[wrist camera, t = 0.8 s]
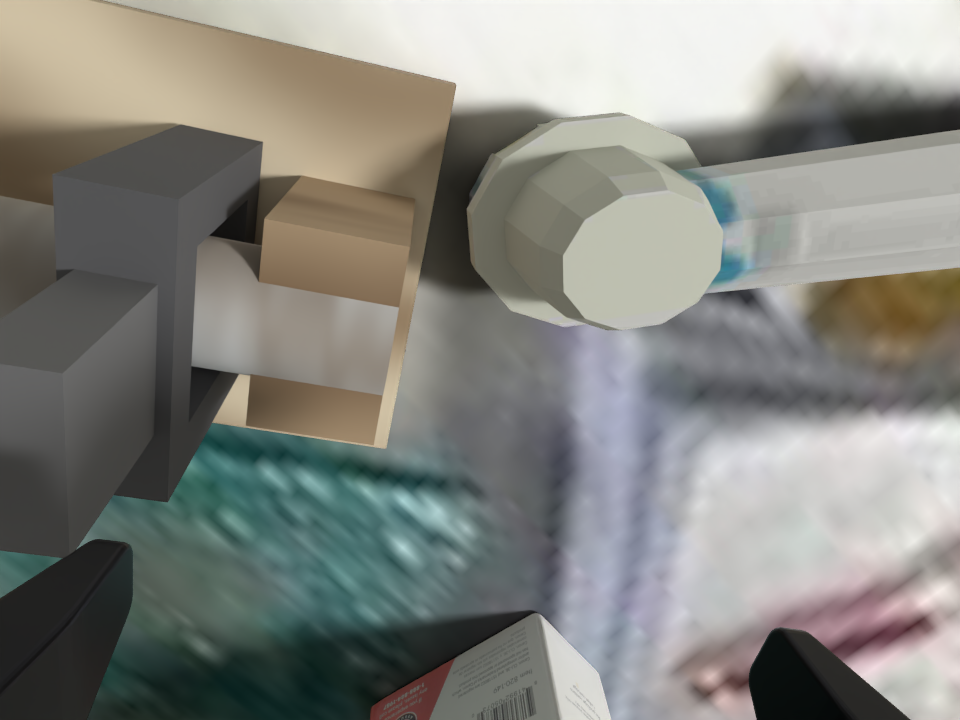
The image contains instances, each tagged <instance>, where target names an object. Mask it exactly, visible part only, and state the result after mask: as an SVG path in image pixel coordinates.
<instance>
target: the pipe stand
mask: <svg viewBox="0 0 960 720" xmlns="http://www.w3.org/2000/svg"><path fill="white" fill-rule="evenodd" d="M455 90H456V84H455V83H453V82H448V81H444V80H440V79H436V78H431V77H427V76H423V75H419V74H414V73H410V72H406V71H401V70H397V69H393V68H389V67H384V66H380V65H376V64H372V63H367V62H363V61H359V60H354V59H350V58H346V57H342V56H337V55H333V54H329V53H325V52H320V51H316V50H312V49H308V48H303V47H299V46H295V45H290V44H286V43H282V42H278V41H273V40H269V39H265V38H261V37H256V36H252V35H248V34H243V33H239V32H235V31H231V30H226V29H222V28H218V27H214V26H209V25H205V24H201V23H197V22H192V21H188V20H184V19H179V18H175V17H171V16H167V15H162V14H158V13H154V12H150V11H145V10H141V9H137V8H132V7H128V6H124V5H120V4H115V3H111V2H107V1H103V0H0V319H2V318H3V317H5V316H6V315H8V314H9V313H11V312H12V311H14V310H15V309H16V308H18V307H19V306H21V305H22V304H24V303H25V302H27V301H28V300H30V299H31V298H33V297H34V296H36V295H37V294H39V293H40V292H42V291H43V290H44V289H46V288H47V287H49V286H50V285H52V284H53V283H55V282H56V281H57V278H56V253H55V228H54V204H53V179H52V174H55V173H57V172H60V171H63V170H65V169H68V168H70V167H73V166H75V165H78V164H80V163H83V162H86V161H88V160H91V159H93V158H96V157H98V156H101V155H104V154H106V153H109V152H111V151H114V150H116V149H119V148H121V147H124V146H127V145H129V144H132V143H134V142H137V141H139V140H142V139H144V138H147V137H150V136H152V135H155V134H157V133H160V132H162V131H165V130H167V129H170V128H173V127H175V126H178V125H180V124H182V125H186V126H191V127H196V128H200V129H205V130H210V131H215V132H219V133H224V134H229V135H233V136H238V137H243V138H248V139H252V140H257V141H262V142H263V150H262V161H261V173H260V185H259V196H258V208H257V220H256V231H255V243H254V244H250V243H245V242H240V241H235V240H229V239H224V238H219V237H214V236H208V237H207V238H206V239H205V240H204V241H203V242H202V243H201V244H200V245H198V246H197V263H196V283H195V303H194V323H193V343H192V363H191V366H194V367H200V368H206V369H212V370H218V371H224V372H230V373H237V374H239V375H238V377H237V379H236V381H235V383H234V384H233V386H232V388H231V390H230V391H229V393H228V395H227V397H226V399H225V400H224V402H223V404H222V406H221V408H220V409H219V411H218V413H217V415H216V417H215V418H214V420H213V422H212V423H219V424H226V425H232V426H239V427H245V428H252V429H259V430H265V431H272V432H278V433H285V434H291V435H298V436H305V437H311V438H318V439H324V440H331V441H337V442H344V443H351V444H357V445H364V446H370V447H377V448H384V449H386V446H387V441H388V436H389V431H390V426H391V421H392V415H393V410H394V405H395V400H396V395H397V389H398V384H399V379H400V374H401V369H402V364H403V358H404V353H405V348H406V343H407V338H408V333H409V327H410V322H411V317H412V312H413V307H414V302H415V296H416V291H417V286H418V281H419V276H420V271H421V265H422V260H423V255H424V250H425V245H426V240H427V234H428V229H429V224H430V219H431V214H432V209H433V203H434V198H435V193H436V188H437V183H438V178H439V172H440V167H441V162H442V157H443V152H444V147H445V141H446V136H447V131H448V126H449V121H450V116H451V110H452V105H453V100H454V95H455Z"/></svg>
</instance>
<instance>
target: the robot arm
mask: <svg viewBox="0 0 960 720" xmlns="http://www.w3.org/2000/svg"><path fill="white" fill-rule="evenodd" d="M132 597H133V551H132V548H131V546H130V545H129V544H127V543H125V542H118V541H110V540H102V539H95V540H92V541H90V542H88V543H86V544H85V545H83V546H81V547H80V548H78V549H77V550H75V551H74V552H72V553H70V554H69V555H67V556H66V557H64V558H63V559H61V560H60V561H58V562H56V563H55V564H53V565H52V566H50V567H49V568H47V569H45V570H44V571H42V572H41V573H39V574H38V575H36V576H35V577H33V578H31V579H30V580H28V581H27V582H25V583H24V584H22V585H20V586H19V587H17V588H16V589H14V590H13V591H11V592H10V593H8V594H6V595H5V596H3V597H2V598H0V720H87V717H88V715H89V712H90V710H91V707H92V705H93V702H94V700H95V697H96V695H97V692H98V690H99V687H100V685H101V682H102V680H103V677H104V675H105V672H106V669H107V667H108V664H109V662H110V659H111V657H112V654H113V652H114V649H115V647H116V644H117V642H118V639H119V637H120V634H121V632H122V629H123V627H124V624H125V622H126V619H127V616H128V614H129V611H130V607H131V603H132ZM749 688H750V693H751V697H752V701H753V705H754V710H755V714H756V718H757V720H910V719H909V718H908V717H907V716H906V715H904V714H903V713H902V712H901V711H900V710H899V709H897V708H896V707H895V706H894V705H893V704H891V703H890V702H889V701H888V700H887V699H886V698H884V697H883V696H882V695H881V694H880V693H879V692H877V691H876V690H875V689H874V688H873V687H872V686H870V685H869V684H868V683H867V682H866V681H865V680H863V679H862V678H861V677H860V676H859V675H858V674H856V673H855V672H854V671H853V670H852V669H851V668H849V667H848V666H847V665H846V664H845V663H843V662H842V661H841V660H840V659H839V658H838V657H836V656H835V655H834V654H833V653H832V652H831V651H829V650H828V649H827V648H826V647H825V646H824V645H822V644H821V643H820V642H819V641H818V640H817V639H815V638H814V637H813V636H812V635H811V634H809V633H808V632H806V631H803V630H798V629H790V628H782V627H779V628H775V629H774V630H772V631H771V632H770V634H769V635H768V637H767V639H766V641H765V642H764V644H763V646H762V648H761V650H760V651H759V653H758V655H757V657H756V659H755V661H754V662H753V664H752V666H751V669H750V673H749Z"/></svg>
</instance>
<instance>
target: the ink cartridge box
mask: <svg viewBox="0 0 960 720" xmlns="http://www.w3.org/2000/svg"><path fill="white" fill-rule="evenodd" d="M370 720H611V717H610V714H609V710H608V706H607V702H606V699H605V695H604V691H603V687H602V684H601V680H600V677H599V673H598V672H597V671H596V670H595V669H594V668H593V667H592V666H591V665H590V664H589V663H588V662H587V661H586V660H585V659H584V658H583V657H582V656H581V655H580V654H579V653H578V652H577V651H576V650H575V649H574V648H573V647H572V646H571V645H570V644H569V643H568V642H567V641H566V640H565V639H564V638H563V637H562V636H561V635H560V634H559V633H558V632H557V630H556V629H555V628H554V627H553V626H552V625H551V624H550V623H549V622H548V621H547V620H546V619H545V618H544V617H543V616H542V615H540V614H538V613H534V614H531V615H529V616H528V617H526V618H524V619H522V620H521V621H519V622H517V623H515V624H513V625H512V626H510V627H508V628H506V629H505V630H503V631H501V632H499V633H498V634H496V635H494V636H492V637H491V638H489V639H487V640H486V641H484V642H482V643H480V644H478V645H477V646H475V647H473V648H471V649H470V650H468V651H466V652H464V653H463V654H461V655H459V656H458V657H456V658H454V659H452V660H450V661H449V662H447V663H445V664H443V665H441V666H440V667H438V668H437V669H435V670H433V671H431V672H429V673H427V674H426V675H424V676H423V677H421V678H419V679H417V680H415V681H413V682H412V683H410V684H408V685H406V686H405V687H403V688H401V689H399V690H398V691H396V692H394V693H393V694H391V695H389V696H387V697H385V698H384V699H382V700H381V701H379V702H378V703H376V704H375V705H374V706H372V708H371V714H370Z"/></svg>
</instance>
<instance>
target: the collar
mask: <svg viewBox="0 0 960 720" xmlns="http://www.w3.org/2000/svg"><path fill="white" fill-rule="evenodd" d="M262 150H263V142H262V141H257V140H252V139H248V138H243V137H238V136H233V135H229V134H224V133H219V132H215V131H210V130H205V129H200V128H196V127H191V126H186V125H182V124H180V125H178V126H175V127H173V128H170V129H167V130H165V131H162V132H160V133H157V134H155V135H152V136H150V137H147V138H144V139H142V140H139V141H137V142H134V143H132V144H129V145H127V146H124V147H121V148H119V149H116V150H114V151H111V152H109V153H106V154H104V155H101V156H98V157H96V158H93V159H91V160H88V161H86V162H83V163H80V164H78V165H75V166H73V167H70V168H68V169H65V170H63V171H60V172H57V173H55V174H52V179H53V204H54V228H55V253H56V278H57V281H56V282H55V283H53V284H52V285H50V286H49V287H47V288H46V289H44V290H43V291H42V292H40V293H39V294H37V295H36V296H34V297H33V298H31V299H30V300H28V301H27V302H25V303H24V304H22V305H21V306H19V307H18V308H16V309H15V310H14V311H12V312H11V313H9V314H8V315H6V316H5V317H3V318H2V319H0V550H1V551H9V552H18V553H26V554H34V555H43V556H51V557H59V558H64V557H66V556H67V555H69V554H70V553H72V552H74V551H75V550H76V549H77V547H78V546H79V545H80V543H81V542H82V540H83V539H84V537H85V536H86V534H87V533H88V531H89V530H90V528H91V527H92V525H93V524H94V523H95V521H96V520H97V518H98V517H99V515H100V514H101V512H102V511H103V509H104V508H105V506H106V505H107V504H108V502H109V501H110V499H111V498H112V496H113V495H117V496H125V497H132V498H140V499H147V500H154V501H162V502H168V501H169V499H170V497H171V495H172V493H173V492H174V490H175V488H176V486H177V485H178V483H179V481H180V479H181V477H182V476H183V474H184V472H185V470H186V468H187V467H188V465H189V463H190V461H191V459H192V458H193V456H194V454H195V452H196V451H197V449H198V447H199V445H200V443H201V442H202V440H203V438H204V436H205V434H206V433H207V431H208V429H209V427H210V425H211V424H212V422H213V420H214V418H215V417H216V415H217V413H218V411H219V409H220V408H221V406H222V404H223V402H224V400H225V399H226V397H227V395H228V393H229V391H230V390H231V388H232V386H233V384H234V383H235V381H236V379H237V377H238V375H239V374H237V373H230V372H224V371H218V370H212V369H206V368H200V367H194V366H191V363H192V343H193V323H194V303H195V283H196V263H197V246H198V245H200V244H201V243H202V242H203V241H204V240H205V239H206V238H207V237H208V236H214V237H219V238H224V239H229V240H235V241H240V242H245V243H250V244H254V243H255V231H256V220H257V208H258V196H259V185H260V173H261V161H262Z"/></svg>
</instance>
